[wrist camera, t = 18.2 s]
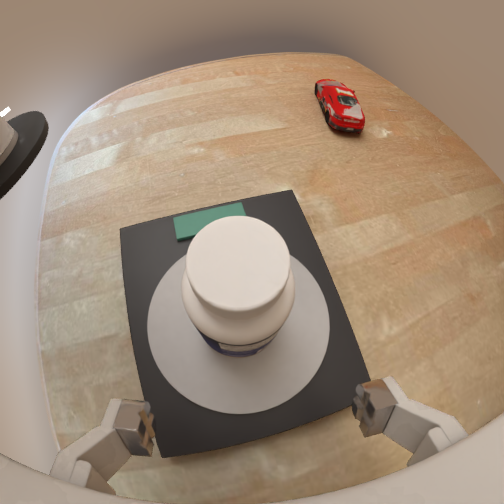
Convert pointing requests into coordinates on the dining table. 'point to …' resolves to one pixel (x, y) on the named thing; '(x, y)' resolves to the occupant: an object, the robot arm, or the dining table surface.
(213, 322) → the pill bottle
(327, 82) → the race car
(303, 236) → the scale
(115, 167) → the dining table surface
